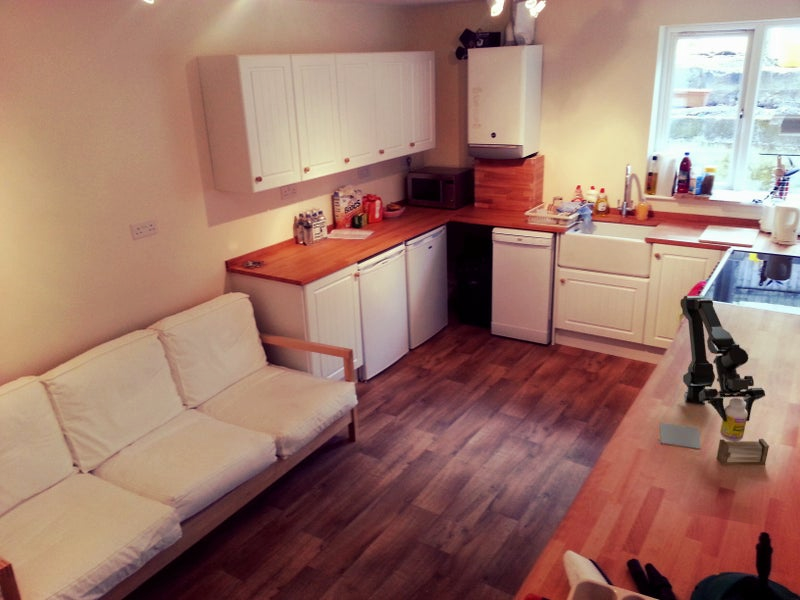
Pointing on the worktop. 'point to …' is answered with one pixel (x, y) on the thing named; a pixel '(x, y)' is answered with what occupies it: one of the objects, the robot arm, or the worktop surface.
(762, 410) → the worktop surface
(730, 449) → the offcut rack
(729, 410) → the supplement bottle
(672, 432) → the slate mat
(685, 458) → the worktop surface
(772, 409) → the worktop surface
